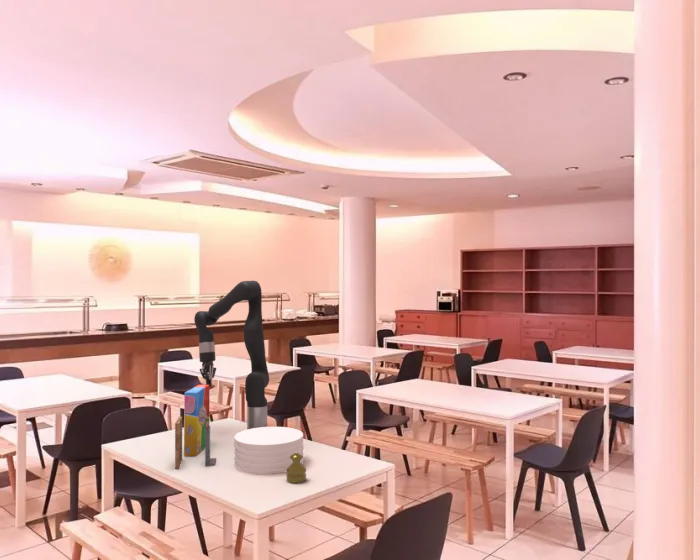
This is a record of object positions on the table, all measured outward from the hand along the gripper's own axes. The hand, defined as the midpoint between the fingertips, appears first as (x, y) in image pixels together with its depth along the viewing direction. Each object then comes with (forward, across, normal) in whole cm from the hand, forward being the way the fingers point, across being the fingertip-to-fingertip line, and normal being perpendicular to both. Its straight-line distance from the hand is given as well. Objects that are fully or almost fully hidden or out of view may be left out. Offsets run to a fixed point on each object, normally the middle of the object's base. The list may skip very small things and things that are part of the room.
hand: (209, 387), depth 269 cm
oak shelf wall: (+29, -39, -5) cm, 49 cm away
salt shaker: (+36, -45, -57) cm, 81 cm away
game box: (+26, -18, -2) cm, 32 cm away
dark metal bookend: (+30, -34, -17) cm, 48 cm away
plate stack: (+32, -28, -40) cm, 59 cm away
